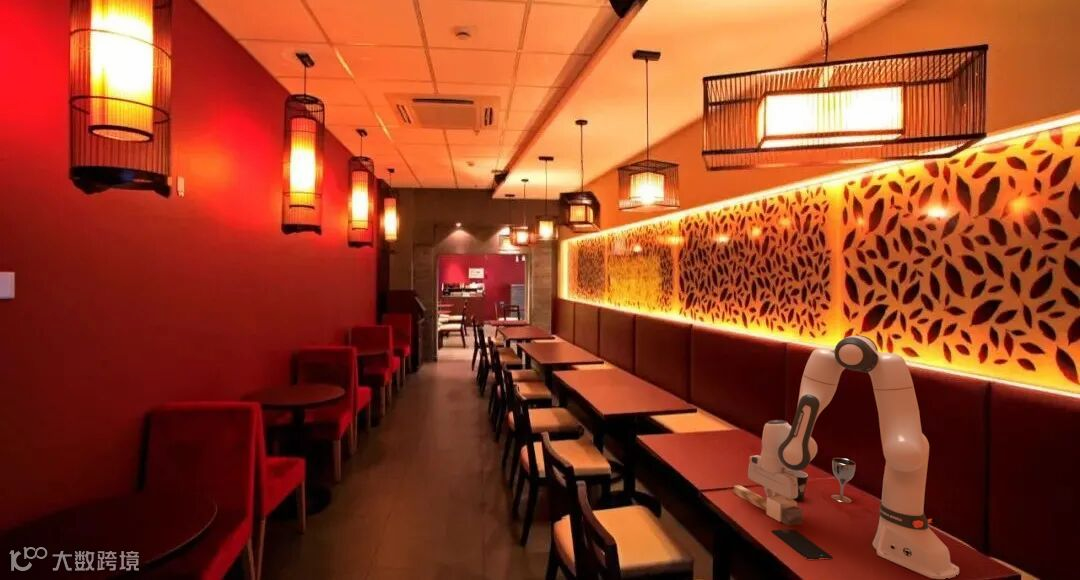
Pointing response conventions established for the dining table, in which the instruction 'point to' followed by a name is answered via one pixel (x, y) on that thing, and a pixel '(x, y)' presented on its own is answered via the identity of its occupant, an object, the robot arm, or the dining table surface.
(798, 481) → the coffee mug
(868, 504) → the dining table surface
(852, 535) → the dining table surface
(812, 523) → the dining table surface
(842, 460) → the wine glass
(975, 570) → the dining table surface
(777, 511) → the keeper
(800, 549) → the cell phone
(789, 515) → the rail
